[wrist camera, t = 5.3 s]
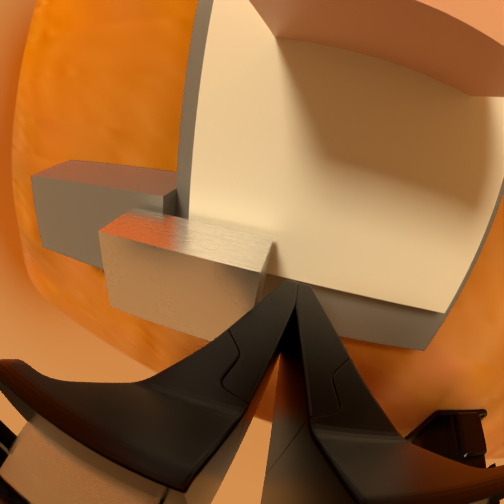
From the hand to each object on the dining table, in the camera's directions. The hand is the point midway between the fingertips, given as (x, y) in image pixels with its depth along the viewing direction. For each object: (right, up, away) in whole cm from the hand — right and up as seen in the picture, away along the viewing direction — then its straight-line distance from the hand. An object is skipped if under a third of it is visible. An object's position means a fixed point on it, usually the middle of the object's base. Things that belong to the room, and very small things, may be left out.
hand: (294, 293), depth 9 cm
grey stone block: (-3, +1, +1) cm, 4 cm away
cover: (+2, +6, -1) cm, 6 cm away
